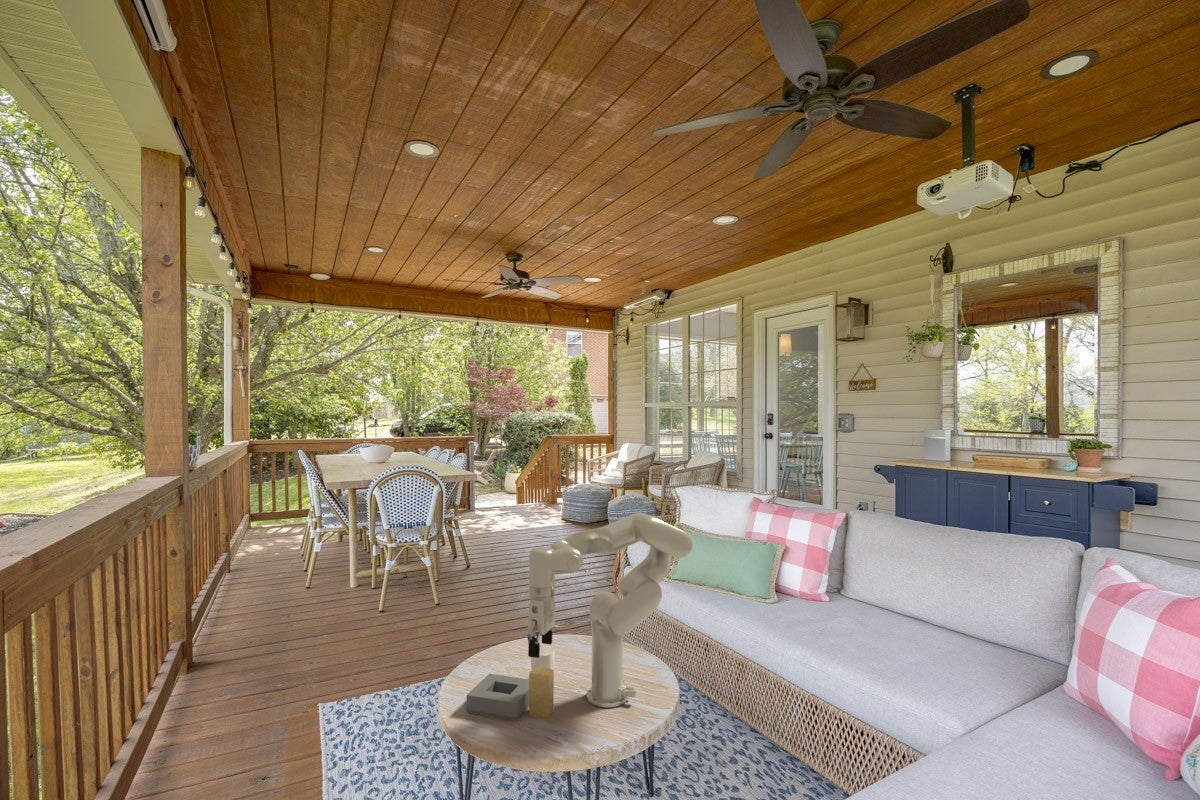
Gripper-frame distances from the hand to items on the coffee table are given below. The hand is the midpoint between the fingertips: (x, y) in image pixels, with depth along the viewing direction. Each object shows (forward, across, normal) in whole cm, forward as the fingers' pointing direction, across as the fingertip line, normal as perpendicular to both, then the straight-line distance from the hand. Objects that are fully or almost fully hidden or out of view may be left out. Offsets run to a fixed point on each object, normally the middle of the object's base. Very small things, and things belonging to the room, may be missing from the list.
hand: (540, 650), depth 161 cm
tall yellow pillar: (+18, 0, 0) cm, 18 cm away
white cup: (+18, +18, +7) cm, 27 cm away
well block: (+18, +1, +12) cm, 22 cm away
